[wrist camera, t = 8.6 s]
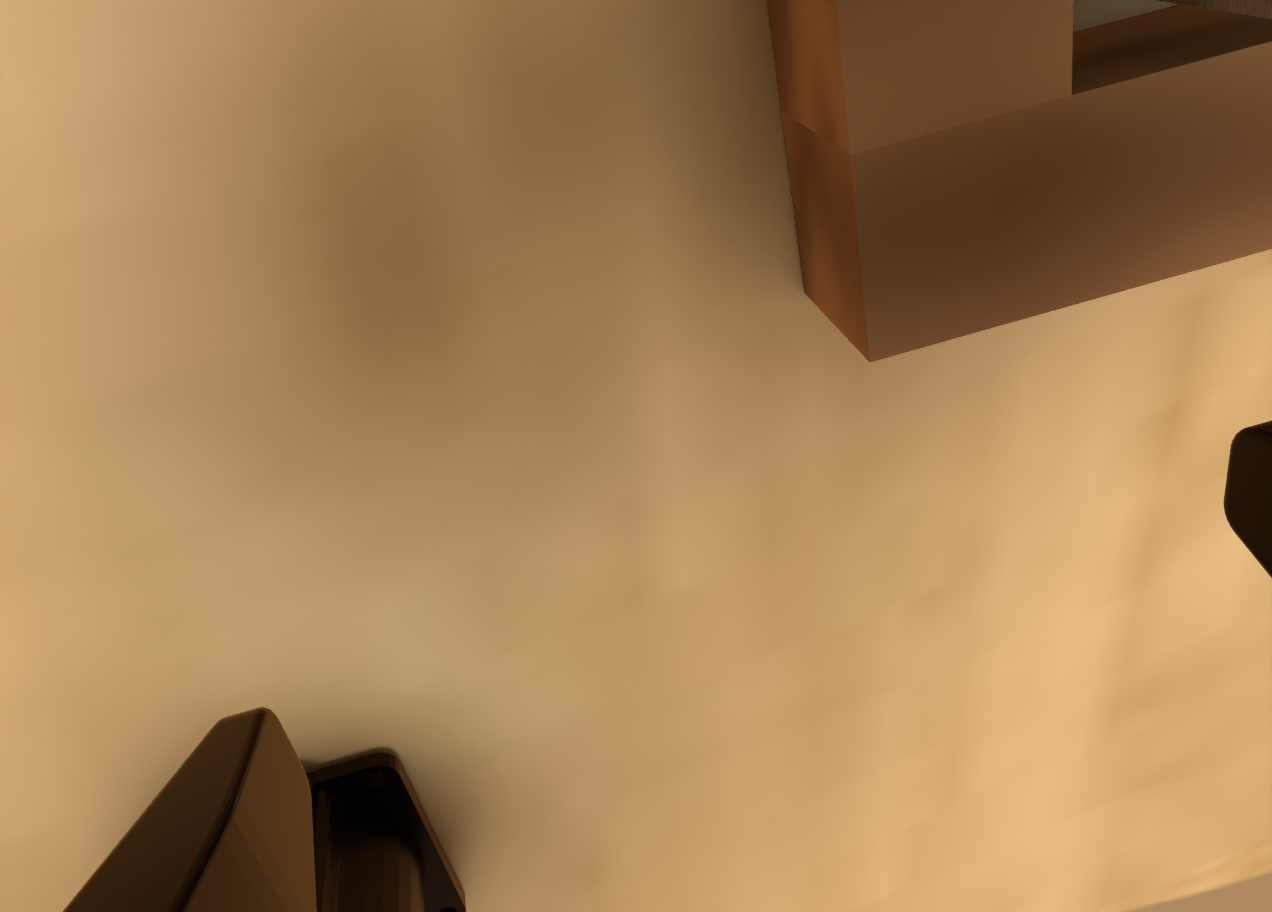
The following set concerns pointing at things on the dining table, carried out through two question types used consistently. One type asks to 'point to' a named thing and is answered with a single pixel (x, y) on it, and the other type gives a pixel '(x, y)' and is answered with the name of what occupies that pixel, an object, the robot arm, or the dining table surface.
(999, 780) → the dining table surface
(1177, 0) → the bracket
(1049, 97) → the well block
